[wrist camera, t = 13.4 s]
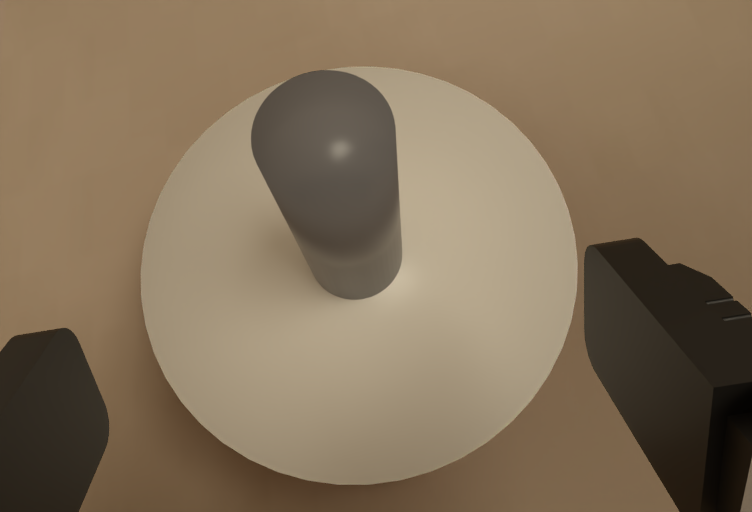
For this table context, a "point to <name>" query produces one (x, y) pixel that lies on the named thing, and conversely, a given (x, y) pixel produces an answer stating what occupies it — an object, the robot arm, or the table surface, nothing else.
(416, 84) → the lid
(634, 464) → the table surface
